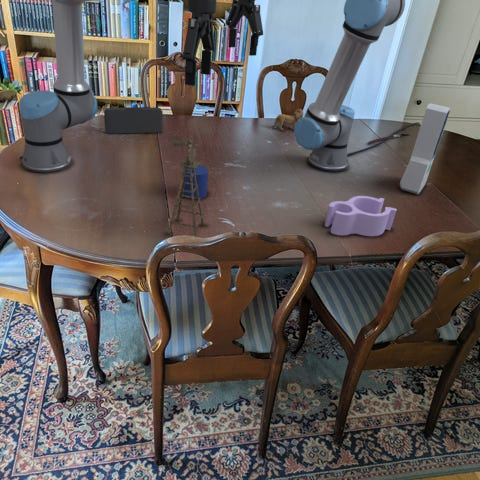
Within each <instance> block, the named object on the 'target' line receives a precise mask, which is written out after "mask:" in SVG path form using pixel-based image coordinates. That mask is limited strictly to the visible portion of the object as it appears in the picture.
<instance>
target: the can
mask: <svg viewBox="0 0 480 480" xmlns="http://www.w3.org/2000/svg"><path fill="white" fill-rule="evenodd" d="M191 166H192V165H191ZM187 170H190V168H189V169H187ZM191 170H192V168H191ZM194 170H195V171H196V173H195V176H196V182H197V185H198V193H199V198H200V200H201V199H204V198H205V197H207V195H208V194H207V193H208V180H209V179H208V177H209V169H208V167H206V166H205V165H202V164H200V165H199V166H198V167H197V168H194ZM183 171H184V167H182V172H183ZM192 171H193V170H192ZM192 174H193V172H192ZM186 175H190V172H188V171H187V173H186ZM183 180H184V179H183ZM185 182H186V183H191V181H190V177H186V179H185ZM192 183H193V184H195V182H194V176H193V177H192ZM194 189H195V186H194V185H193V190H194ZM184 190H188V191H191V185H188V184H185V185H184ZM183 195H184V196H190V197H192V196H191V193H189V192H184V191H183ZM193 196H194V197H195V198H197V194H196V190H195V191H194V193H193ZM189 200H192V198H189Z"/></svg>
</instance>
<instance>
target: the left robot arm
mask: <svg viewBox="0 0 480 480" xmlns="http://www.w3.org/2000/svg"><path fill="white" fill-rule="evenodd" d="M84 2H86V0H51V3H52V16H53V18H52V19H53V30H54V46H55V60H56V75H57V79H56V81H54V82H53V84H52V88H53V90H52V91H51V90H34V91H30V92H28V93H25V94H24V95H22V96H21V98H20V99H19V103H18V105H19V116H20V119H21V125H22V132H23V136H24V148H23V153H22V156H19V159H20V160H21V161H22V166H23V168H24V169H25V170H27V171H29V172H33V173H39V174H46V173H56V172H61V171H63V170H66V169H67V168H69V167H70V166H71V163H72V156H71V154H70V153H69V151H68V150H67V149H68V148H67V147H66V145H65V143H64V140H63V132H62V131H63V130H65V129H68V128H72V127H75V126H77V125H82V124H83V125H84V124H85V123H87V122H89V121H91V120H92V119H93V118H94V117H95V116H96V114H97V111H98V100H97V97H96V96H95V93H94V91H93V90H92V89H90V88H91V87H90V84H88V82H86V80H85V79H86V77H85V54H84V53H85V49H84V23H83V22H84V21H83V4H84ZM217 2H218V1H217V0H187V3H186V10H187V11H188V12H190V13H193V15H192V18H191V17H189V18H188V19H187V29H186V34H185V41H184V46H183V52H182V56H181V59H182V60H185V68H184V74H185V75H184V85H187V86H191V87H195V86H196V80H197V79H196V77H197V76H196V75H197V60H196V57H197V53H198V50H199V46H200V43H201V45H202V50H201V58H200V59H201V61H200V74H201V75H207V76H210V75H211V69H212V68H211V66H212V52H215V51H216V47H215V35H214V34H215V33H214V14H216V12H217Z"/></svg>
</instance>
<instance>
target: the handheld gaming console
mask: <svg viewBox="0 0 480 480" xmlns="http://www.w3.org/2000/svg"><path fill="white" fill-rule="evenodd" d="M163 113H164V111H163V110H162V109H161V107H150V106H138V107H136V106H135V107H134V106H131V107H130V106H129V107H128V106H126V107H125V106H124V107H123V106H122V107H121V106H120V107H119V106H117V107H106V108H104V110H103V117H104V118H103V119H104V130H105V132H106V133H107V134H149V133H151V134H152V133H162V131H163V130H164V129H163V118H164V117H163Z"/></svg>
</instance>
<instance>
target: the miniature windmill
mask: <svg viewBox="0 0 480 480" xmlns="http://www.w3.org/2000/svg"><path fill="white" fill-rule="evenodd" d="M194 131H195V132H198V129H197V128H194ZM190 137H191V138H190V139H189V141H188V142H185V141H184V140H183V139H180V138H177V137H172V147H185V146H187V148H188V150H187V155H186V158H184V159H183V160H182V162H181V163H179V164H178V166H179V167H182V168H184V171H183V170H182V172H181V179H180V180H179V182H180V183H179V187H178V188H177V195H176V197H175V203H174V205H173V210H172V212H171V219H170V220H169V227H168V231H167V234H168V235H170V234H171V231H172V227H173V225H180V226H184V227H191V228H193V237H194V236H196V237H197V238H198V236H197V227H198V225H199V224H200V222H201V226H205V221H204V215H205V213H203V210H202V205H201V199H200V198H199V193H198V185H197V182H196V176H195V173H196V171H195V170H194V168H197V167H198V166H199V165H201V163H202V162H200V161H199V160H195V159H196V156H197V151H198V146H199V143H197V142H199V133H194V136H193V134H190ZM191 165H192V166H191ZM189 168H190V170H187V169H189ZM191 168H192V170H193V171H192V170H191ZM187 171H188V172H190V175H186V173H187ZM192 172H193V174H192ZM193 176H194V182H195V184H193V183H192V177H193ZM186 177H190V181H191V183H186V182H185V179H186ZM183 179H184V180H183ZM185 184H188V185H191V191H188V190H184V185H185ZM193 185H194V186H195V189H194V190H193ZM195 190H196V194H197V198H195V197H194V196H193V193H194V191H195ZM183 191H184V192H189V193H191V196H192V197H190V196H184V195H183ZM183 198H187V199H190V198H192V199H191V206H189V205H188V206H187V205H183V204H182V203H183V202H182V201H183ZM195 200H197V202H196V203H195ZM197 206H198V211H199V212H196V211H195V210H196V208H197ZM177 208H178V209H177ZM181 208H186V209H190V210H192V211H190V210H185V209H181ZM181 212H184V213H189V214H192V224H187V223H181V222H179V221H180V214H181ZM196 215H199V218H198V221H197V222H196ZM175 216H176V221H177V222H176V221H174V220H175Z"/></svg>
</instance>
